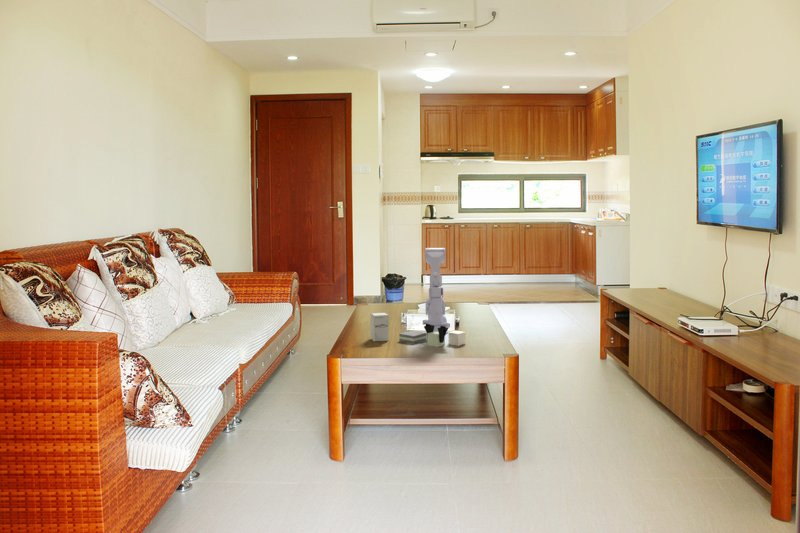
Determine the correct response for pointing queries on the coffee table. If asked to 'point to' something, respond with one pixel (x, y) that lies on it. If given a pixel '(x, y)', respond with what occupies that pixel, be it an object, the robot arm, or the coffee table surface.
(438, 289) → the robot arm
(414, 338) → the grey striped square box
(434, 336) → the sage block
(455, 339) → the cream block
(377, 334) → the supplement box
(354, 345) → the coffee table surface
